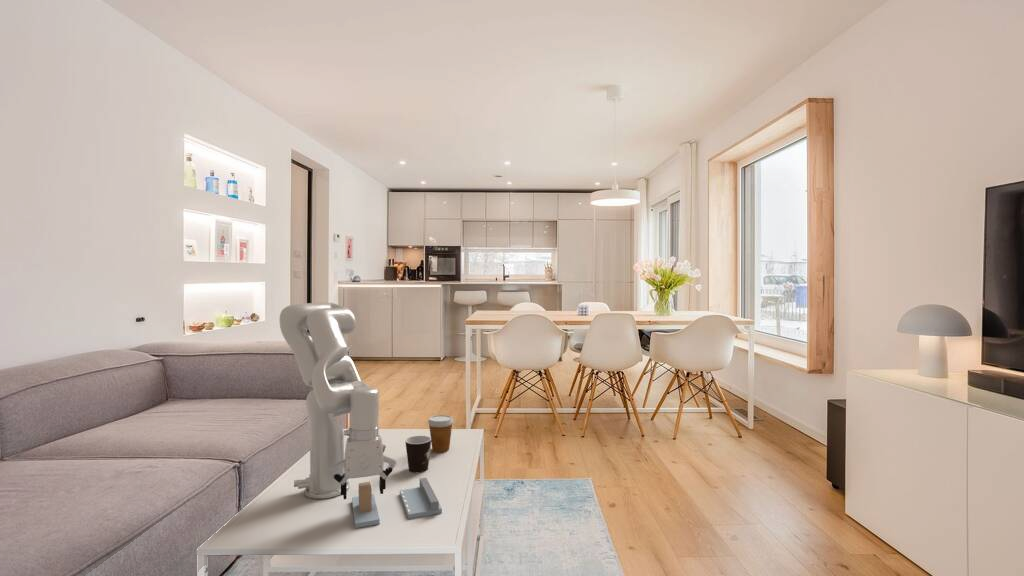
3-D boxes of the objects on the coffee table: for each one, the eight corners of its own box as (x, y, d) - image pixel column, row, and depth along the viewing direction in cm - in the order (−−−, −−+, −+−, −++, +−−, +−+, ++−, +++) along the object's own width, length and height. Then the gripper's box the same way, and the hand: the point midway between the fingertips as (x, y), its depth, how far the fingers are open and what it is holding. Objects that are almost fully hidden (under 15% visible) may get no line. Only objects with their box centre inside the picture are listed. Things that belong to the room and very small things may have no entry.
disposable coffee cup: (458, 448, 182) (458, 416, 182) (442, 456, 174) (442, 423, 174) (438, 444, 187) (438, 413, 187) (422, 451, 179) (422, 419, 179)
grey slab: (355, 528, 123) (355, 500, 123) (351, 501, 138) (351, 476, 137) (379, 523, 125) (379, 496, 125) (373, 498, 140) (373, 473, 140)
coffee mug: (417, 476, 156) (417, 445, 156) (400, 470, 161) (399, 440, 161) (443, 465, 165) (443, 436, 165) (425, 460, 170) (425, 431, 170)
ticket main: (408, 519, 127) (408, 506, 127) (399, 493, 143) (399, 481, 143) (442, 513, 130) (442, 500, 130) (429, 488, 146) (429, 477, 146)
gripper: (330, 440, 124) (329, 505, 125) (398, 434, 131) (397, 495, 131) (330, 431, 131) (329, 493, 132) (394, 425, 138) (393, 484, 138)
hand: (363, 494), depth 132 cm, fingers open, 9 cm apart
